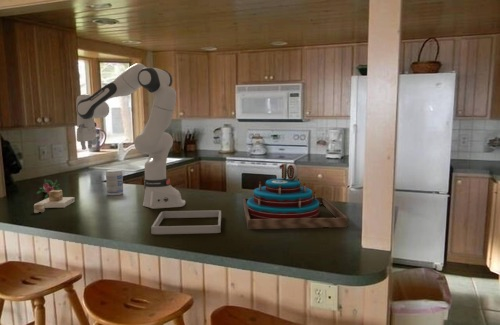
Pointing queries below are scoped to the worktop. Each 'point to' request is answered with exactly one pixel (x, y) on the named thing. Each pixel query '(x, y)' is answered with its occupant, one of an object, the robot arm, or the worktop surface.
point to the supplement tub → (114, 182)
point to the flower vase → (48, 187)
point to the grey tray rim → (186, 229)
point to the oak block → (55, 195)
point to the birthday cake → (283, 198)
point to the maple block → (39, 207)
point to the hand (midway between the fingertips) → (87, 148)
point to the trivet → (58, 202)
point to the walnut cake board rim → (298, 219)
